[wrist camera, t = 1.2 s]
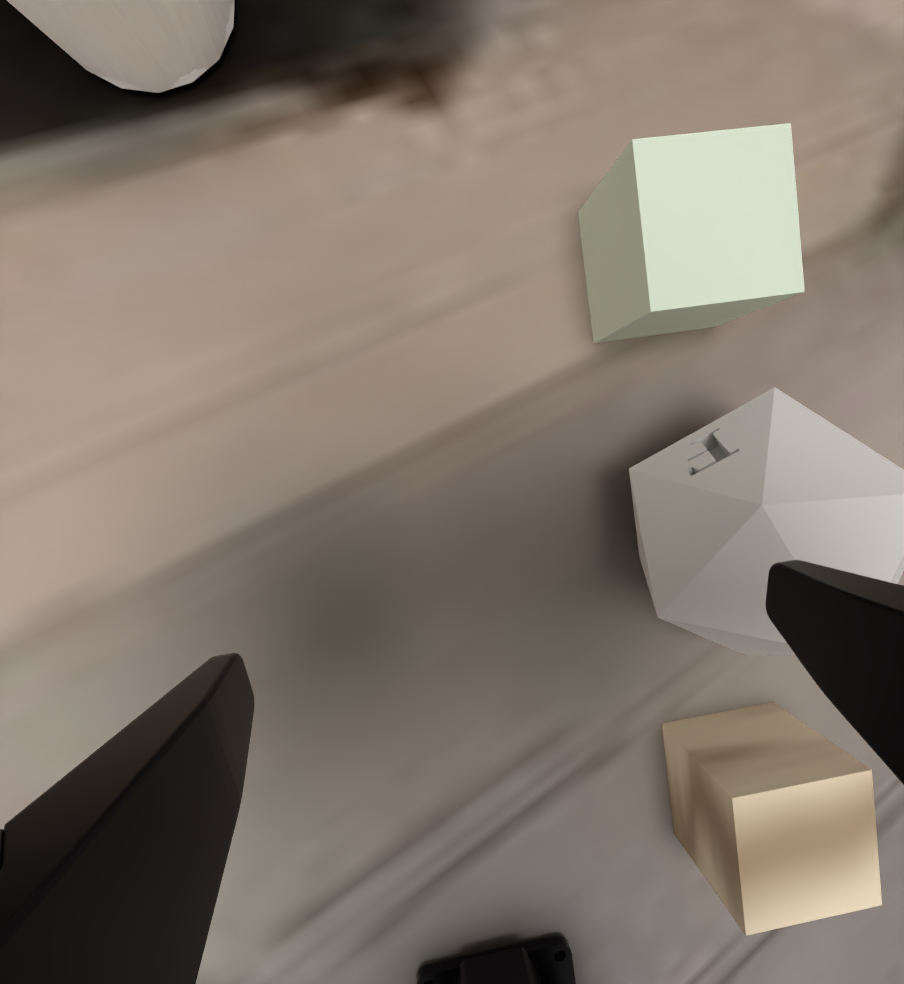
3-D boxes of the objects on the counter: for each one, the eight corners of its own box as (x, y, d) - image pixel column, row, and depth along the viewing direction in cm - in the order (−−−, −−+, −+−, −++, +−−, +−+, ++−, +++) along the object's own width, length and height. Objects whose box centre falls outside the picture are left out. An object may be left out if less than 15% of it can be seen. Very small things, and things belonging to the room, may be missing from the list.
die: (792, 412, 23) (818, 295, 15) (937, 599, 20) (1078, 586, 11) (617, 506, 26) (556, 452, 17) (718, 685, 22) (701, 726, 14)
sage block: (712, 327, 22) (804, 292, 17) (592, 343, 21) (650, 311, 16) (699, 199, 21) (790, 123, 16) (577, 213, 21) (632, 139, 16)
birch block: (781, 809, 24) (881, 905, 19) (673, 832, 23) (745, 935, 18) (772, 701, 23) (871, 769, 18) (660, 722, 23) (732, 798, 18)
